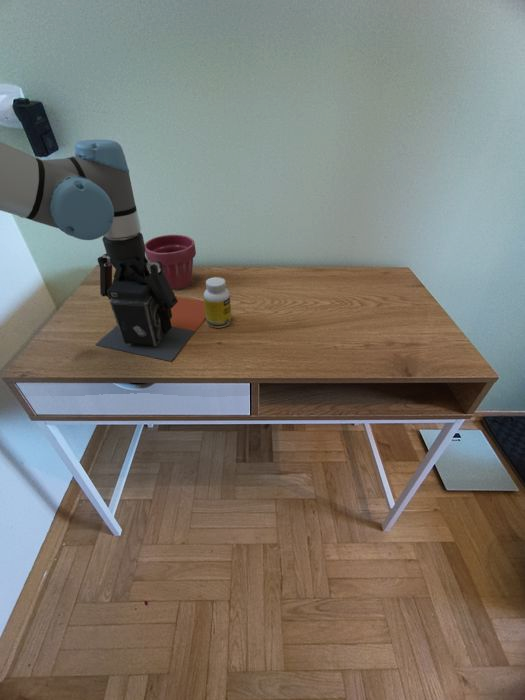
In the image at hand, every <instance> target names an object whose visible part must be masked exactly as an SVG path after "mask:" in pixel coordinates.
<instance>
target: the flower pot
mask: <svg viewBox="0 0 525 700" xmlns="http://www.w3.org/2000/svg"><path fill="white" fill-rule="evenodd" d="M144 244H145V249H146V250H145V256H146V258H147V260H148V262H153V263H156V262H157V261H160V262H161V264H162V269H163V273H164V275H165V277H166V279H167V281H168V283H169V285H170V287H171V289H172V291H174V290H175V291H176V290H181V289H185V288H187V287H189V286H190V285H191V283H192V277H193V267H194V258H195V257H196V255H197V251H196V250H197V249H196V243H195V240H194V239H193V238H191V237H190V236H187V235H183V234H165V235H160V236H155V237H152V238H150V239H149V240H147V241H146V242H144Z"/></svg>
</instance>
